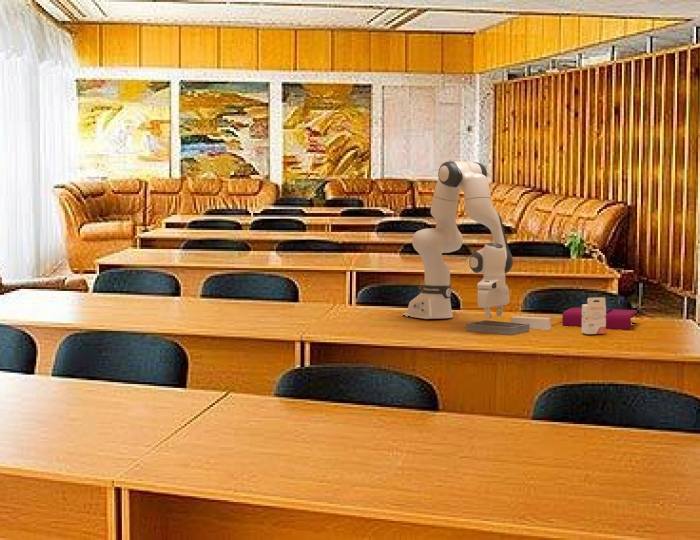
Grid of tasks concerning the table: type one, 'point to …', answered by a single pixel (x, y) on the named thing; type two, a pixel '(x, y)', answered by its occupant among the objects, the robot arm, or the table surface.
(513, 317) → the clay strip
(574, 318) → the book
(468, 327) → the divided tray
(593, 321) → the ink cartridge box
